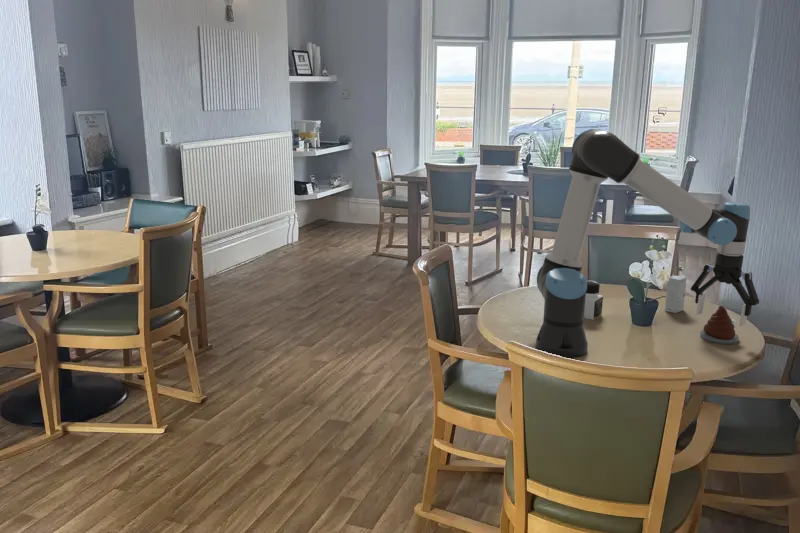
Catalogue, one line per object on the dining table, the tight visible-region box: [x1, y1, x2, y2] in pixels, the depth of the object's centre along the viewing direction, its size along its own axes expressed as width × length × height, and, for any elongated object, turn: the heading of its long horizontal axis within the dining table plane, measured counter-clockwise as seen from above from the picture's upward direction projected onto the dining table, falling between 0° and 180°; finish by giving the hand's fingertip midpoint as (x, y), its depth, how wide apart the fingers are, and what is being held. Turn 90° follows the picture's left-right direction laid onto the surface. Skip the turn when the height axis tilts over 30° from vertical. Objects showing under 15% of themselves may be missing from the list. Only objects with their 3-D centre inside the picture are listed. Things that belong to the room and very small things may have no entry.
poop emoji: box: [703, 305, 738, 340], centre depth 218 cm, size 10×8×9 cm
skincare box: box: [664, 274, 687, 314], centre depth 245 cm, size 6×4×12 cm
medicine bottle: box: [584, 280, 604, 321], centre depth 238 cm, size 7×7×12 cm
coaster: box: [699, 329, 739, 345], centre depth 219 cm, size 11×11×1 cm
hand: (720, 319), depth 218 cm, fingers open, 13 cm apart
